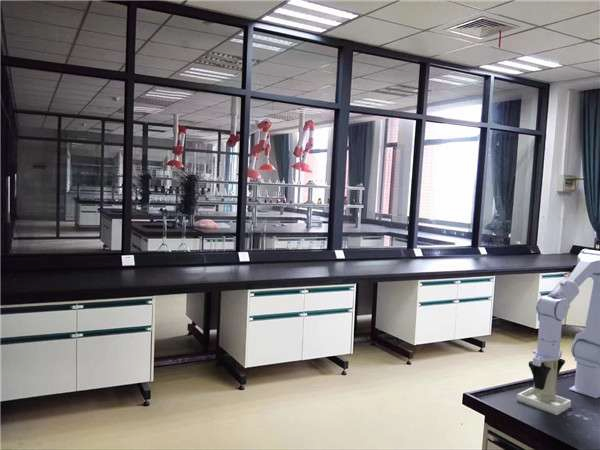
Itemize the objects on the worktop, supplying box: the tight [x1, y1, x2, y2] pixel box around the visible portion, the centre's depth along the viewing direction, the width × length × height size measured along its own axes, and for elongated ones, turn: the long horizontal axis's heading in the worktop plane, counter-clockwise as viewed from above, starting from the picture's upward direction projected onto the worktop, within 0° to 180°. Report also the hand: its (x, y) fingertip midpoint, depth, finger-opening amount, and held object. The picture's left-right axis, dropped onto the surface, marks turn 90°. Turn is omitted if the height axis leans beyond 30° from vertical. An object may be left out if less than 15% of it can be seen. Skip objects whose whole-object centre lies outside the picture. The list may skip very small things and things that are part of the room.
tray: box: [516, 386, 572, 416], centre depth 142 cm, size 9×11×2 cm
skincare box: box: [533, 360, 558, 403], centre depth 141 cm, size 6×4×12 cm
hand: (545, 385), depth 141 cm, fingers closed on skincare box, 7 cm apart
